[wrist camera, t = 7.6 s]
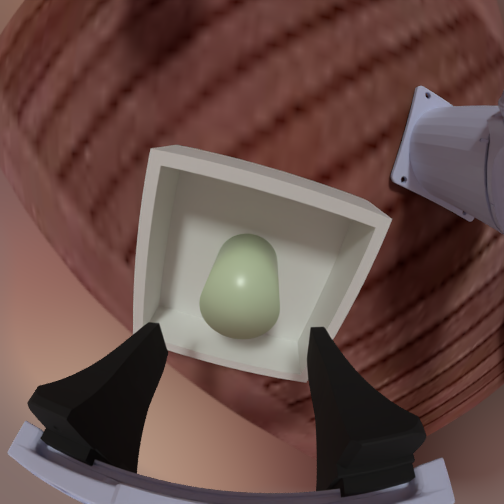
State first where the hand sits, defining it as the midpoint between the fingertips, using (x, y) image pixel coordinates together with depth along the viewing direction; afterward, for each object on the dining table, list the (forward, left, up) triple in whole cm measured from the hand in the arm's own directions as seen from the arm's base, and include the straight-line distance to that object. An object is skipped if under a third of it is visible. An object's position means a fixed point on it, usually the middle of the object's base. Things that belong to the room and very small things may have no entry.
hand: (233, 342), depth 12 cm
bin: (0, 0, -9) cm, 9 cm away
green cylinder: (0, 0, -9) cm, 9 cm away
